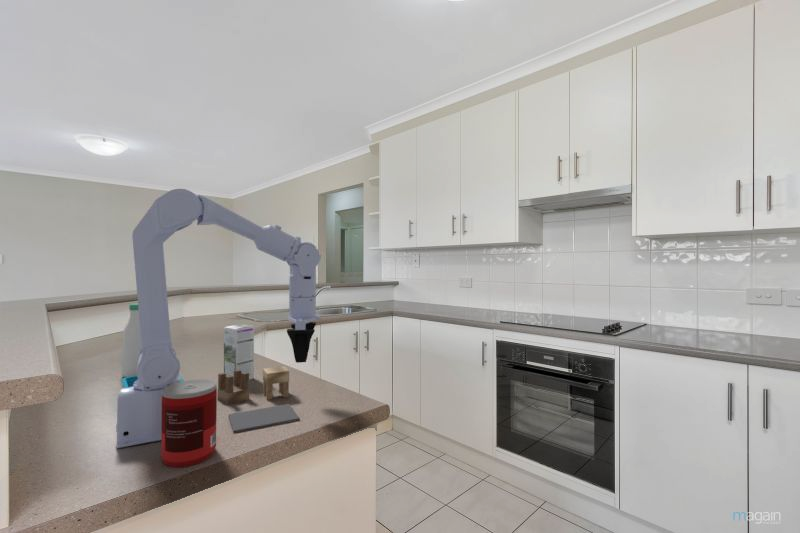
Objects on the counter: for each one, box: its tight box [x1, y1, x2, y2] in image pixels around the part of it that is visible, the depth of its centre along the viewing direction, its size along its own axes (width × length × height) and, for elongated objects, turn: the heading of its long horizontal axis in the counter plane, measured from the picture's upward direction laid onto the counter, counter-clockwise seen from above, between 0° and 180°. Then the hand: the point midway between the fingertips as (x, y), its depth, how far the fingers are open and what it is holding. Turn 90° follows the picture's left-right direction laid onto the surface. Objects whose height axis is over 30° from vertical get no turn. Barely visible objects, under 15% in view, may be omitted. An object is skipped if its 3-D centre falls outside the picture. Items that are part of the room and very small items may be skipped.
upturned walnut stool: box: [217, 370, 250, 405], centre depth 86 cm, size 5×5×6 cm
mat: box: [227, 403, 301, 434], centre depth 75 cm, size 12×9×1 cm
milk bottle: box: [121, 302, 142, 378], centre depth 106 cm, size 8×8×20 cm
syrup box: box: [223, 324, 255, 383], centre depth 102 cm, size 6×6×14 cm
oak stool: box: [262, 365, 290, 401], centre depth 89 cm, size 5×5×6 cm
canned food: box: [160, 379, 218, 468], centre depth 60 cm, size 8×8×11 cm
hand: (302, 357), depth 83 cm, fingers open, 7 cm apart
